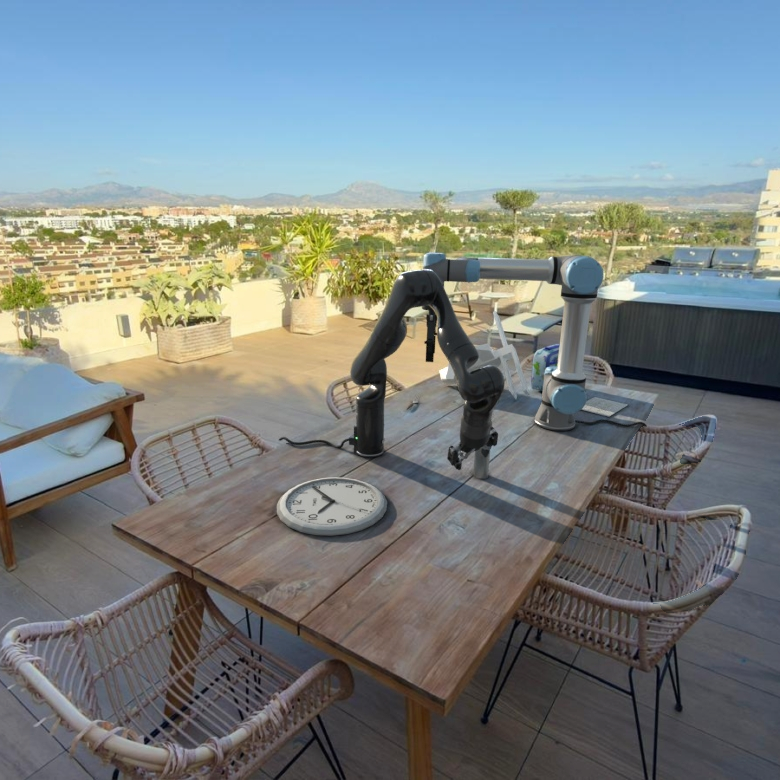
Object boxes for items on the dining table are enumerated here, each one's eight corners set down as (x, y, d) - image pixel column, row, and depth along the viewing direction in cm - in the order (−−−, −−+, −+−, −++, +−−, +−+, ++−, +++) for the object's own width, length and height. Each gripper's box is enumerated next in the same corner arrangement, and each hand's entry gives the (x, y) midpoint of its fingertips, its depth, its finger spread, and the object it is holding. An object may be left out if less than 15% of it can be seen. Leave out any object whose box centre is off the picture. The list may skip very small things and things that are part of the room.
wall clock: (392, 527, 129) (268, 531, 127) (391, 533, 130) (269, 537, 127) (383, 473, 158) (282, 475, 155) (383, 478, 158) (282, 480, 156)
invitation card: (608, 416, 214) (573, 407, 224) (608, 416, 214) (573, 408, 224) (628, 404, 229) (594, 396, 238) (628, 405, 229) (594, 397, 238)
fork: (403, 410, 217) (403, 406, 216) (415, 399, 231) (415, 395, 231) (409, 411, 216) (409, 406, 215) (420, 400, 230) (420, 395, 230)
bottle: (488, 473, 163) (494, 403, 156) (487, 479, 159) (493, 408, 152) (474, 471, 164) (478, 401, 157) (472, 477, 160) (477, 406, 153)
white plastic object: (461, 429, 252) (437, 405, 227) (444, 352, 274) (420, 323, 250) (535, 404, 240) (518, 377, 215) (510, 326, 262) (492, 293, 237)
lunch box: (547, 396, 238) (552, 351, 232) (526, 391, 246) (531, 347, 239) (574, 385, 256) (579, 343, 250) (554, 380, 263) (559, 340, 257)
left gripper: (491, 405, 136) (485, 441, 148) (443, 426, 132) (441, 461, 145) (507, 426, 132) (500, 460, 144) (459, 448, 128) (455, 482, 140)
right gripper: (424, 293, 195) (422, 349, 202) (419, 302, 172) (417, 365, 178) (444, 294, 195) (441, 350, 201) (442, 303, 171) (439, 366, 177)
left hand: (471, 461), depth 144 cm, fingers open, 8 cm apart
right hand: (430, 357), depth 190 cm, fingers open, 13 cm apart
